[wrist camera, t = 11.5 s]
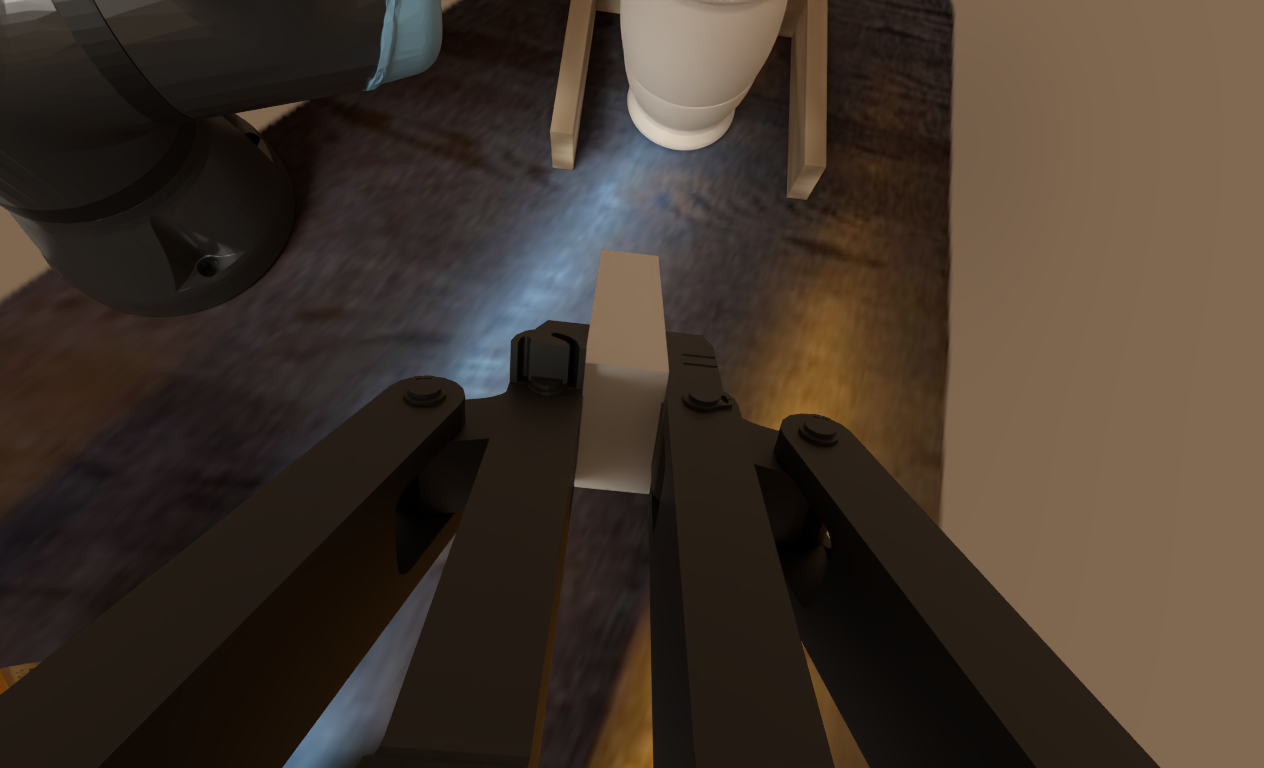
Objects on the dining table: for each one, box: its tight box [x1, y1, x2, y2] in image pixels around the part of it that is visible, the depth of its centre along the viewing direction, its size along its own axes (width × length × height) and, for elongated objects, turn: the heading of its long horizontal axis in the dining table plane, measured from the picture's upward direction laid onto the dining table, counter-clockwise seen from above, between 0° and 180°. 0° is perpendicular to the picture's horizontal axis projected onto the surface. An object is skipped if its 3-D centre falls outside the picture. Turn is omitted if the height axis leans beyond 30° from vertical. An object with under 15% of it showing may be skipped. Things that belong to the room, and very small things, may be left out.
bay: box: [550, 0, 827, 200], centre depth 48 cm, size 19×16×4 cm
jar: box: [620, 0, 788, 150], centre depth 42 cm, size 11×10×15 cm
